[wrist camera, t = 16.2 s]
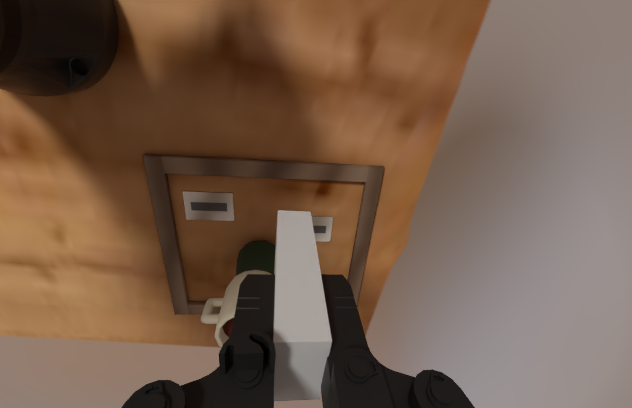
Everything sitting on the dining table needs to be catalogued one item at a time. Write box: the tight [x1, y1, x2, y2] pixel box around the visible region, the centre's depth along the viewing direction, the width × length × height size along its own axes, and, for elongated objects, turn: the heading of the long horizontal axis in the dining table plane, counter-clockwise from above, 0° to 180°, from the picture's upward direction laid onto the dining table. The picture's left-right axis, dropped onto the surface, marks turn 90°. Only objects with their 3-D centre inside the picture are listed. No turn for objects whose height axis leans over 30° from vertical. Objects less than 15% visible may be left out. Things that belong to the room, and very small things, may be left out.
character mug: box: [201, 241, 276, 348], centre depth 35 cm, size 11×7×13 cm, turn 85°
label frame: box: [143, 154, 384, 314], centre depth 39 cm, size 28×25×1 cm
